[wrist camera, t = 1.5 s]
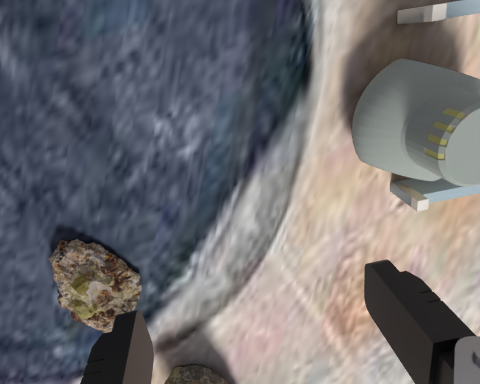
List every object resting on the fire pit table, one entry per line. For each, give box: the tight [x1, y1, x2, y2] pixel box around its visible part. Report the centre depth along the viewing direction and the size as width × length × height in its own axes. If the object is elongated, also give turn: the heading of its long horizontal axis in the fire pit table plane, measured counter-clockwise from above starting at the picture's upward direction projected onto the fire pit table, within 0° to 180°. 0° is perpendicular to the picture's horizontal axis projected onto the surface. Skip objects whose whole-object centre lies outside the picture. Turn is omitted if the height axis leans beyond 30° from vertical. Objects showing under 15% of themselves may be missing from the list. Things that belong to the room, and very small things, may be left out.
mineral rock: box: [49, 239, 142, 333], centre depth 33 cm, size 11×4×8 cm
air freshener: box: [352, 58, 480, 187], centre depth 26 cm, size 11×8×10 cm
